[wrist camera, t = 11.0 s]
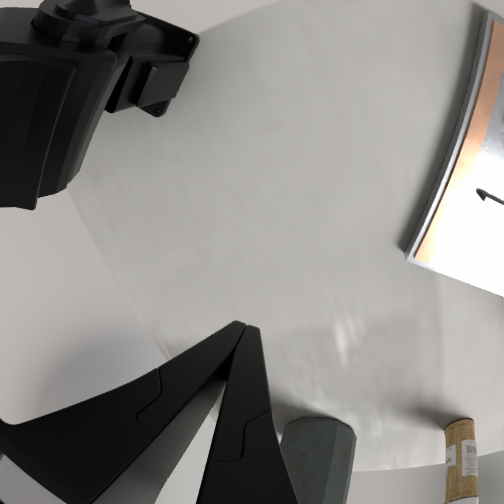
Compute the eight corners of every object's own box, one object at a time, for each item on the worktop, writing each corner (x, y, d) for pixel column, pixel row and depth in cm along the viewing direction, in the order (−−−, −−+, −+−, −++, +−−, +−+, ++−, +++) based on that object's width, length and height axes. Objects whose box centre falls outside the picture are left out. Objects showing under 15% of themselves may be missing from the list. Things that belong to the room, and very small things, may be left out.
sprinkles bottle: (439, 427, 31) (436, 518, 20) (468, 414, 28) (472, 509, 18) (451, 435, 32) (449, 520, 21) (478, 424, 29) (482, 511, 18)
